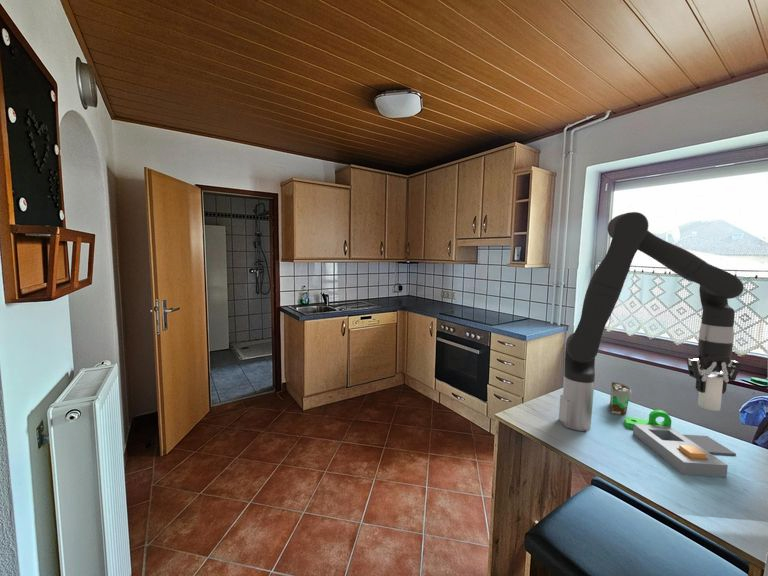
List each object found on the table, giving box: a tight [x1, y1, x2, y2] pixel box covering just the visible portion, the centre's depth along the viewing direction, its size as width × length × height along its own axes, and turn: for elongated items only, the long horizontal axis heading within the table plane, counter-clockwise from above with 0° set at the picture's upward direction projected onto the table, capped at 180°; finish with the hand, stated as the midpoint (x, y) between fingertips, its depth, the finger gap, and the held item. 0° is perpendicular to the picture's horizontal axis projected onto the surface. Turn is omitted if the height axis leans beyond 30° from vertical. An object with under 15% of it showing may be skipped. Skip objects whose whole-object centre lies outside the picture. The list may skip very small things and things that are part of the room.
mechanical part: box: [623, 409, 672, 430], centre depth 115 cm, size 12×6×8 cm, turn 63°
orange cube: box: [679, 445, 706, 460], centre depth 94 cm, size 4×4×4 cm
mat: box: [682, 434, 737, 456], centre depth 105 cm, size 10×10×1 cm
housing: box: [632, 424, 729, 478], centre depth 100 cm, size 11×21×4 cm, turn 174°
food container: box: [609, 380, 633, 416], centre depth 127 cm, size 12×6×10 cm, turn 148°
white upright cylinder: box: [697, 373, 723, 412], centre depth 103 cm, size 5×5×10 cm
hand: (710, 392), depth 103 cm, fingers closed on white upright cylinder, 5 cm apart
